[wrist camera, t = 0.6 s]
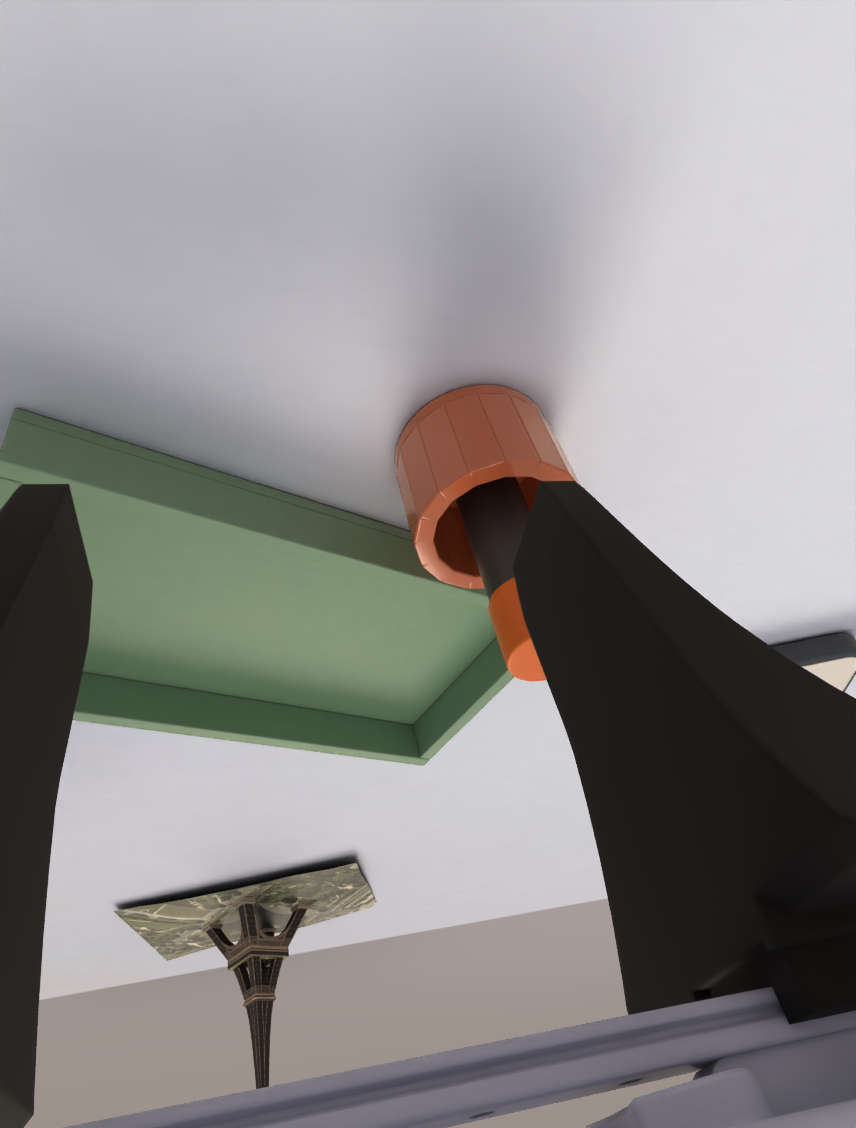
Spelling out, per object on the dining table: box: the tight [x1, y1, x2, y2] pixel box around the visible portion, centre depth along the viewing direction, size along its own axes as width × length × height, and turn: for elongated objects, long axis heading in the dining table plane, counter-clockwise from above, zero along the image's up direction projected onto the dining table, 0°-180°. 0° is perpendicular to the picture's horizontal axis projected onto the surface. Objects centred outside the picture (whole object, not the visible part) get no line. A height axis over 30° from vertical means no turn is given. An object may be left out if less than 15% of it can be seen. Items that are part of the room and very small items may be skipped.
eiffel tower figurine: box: [114, 863, 376, 1089], centre depth 45 cm, size 15×10×13 cm
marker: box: [456, 477, 547, 681], centre depth 21 cm, size 2×2×8 cm
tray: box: [0, 408, 514, 765], centre depth 27 cm, size 11×20×2 cm, turn 58°
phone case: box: [772, 633, 856, 692], centre depth 43 cm, size 9×2×16 cm
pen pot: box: [395, 385, 581, 589], centre depth 23 cm, size 5×5×4 cm
